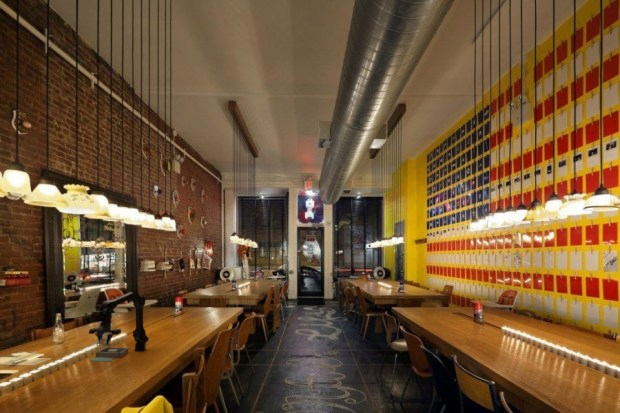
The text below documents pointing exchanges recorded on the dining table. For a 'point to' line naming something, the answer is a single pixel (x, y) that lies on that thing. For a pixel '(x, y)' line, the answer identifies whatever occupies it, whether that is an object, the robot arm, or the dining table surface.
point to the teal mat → (102, 359)
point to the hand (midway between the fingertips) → (103, 344)
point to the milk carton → (105, 335)
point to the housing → (112, 352)
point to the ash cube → (103, 342)
